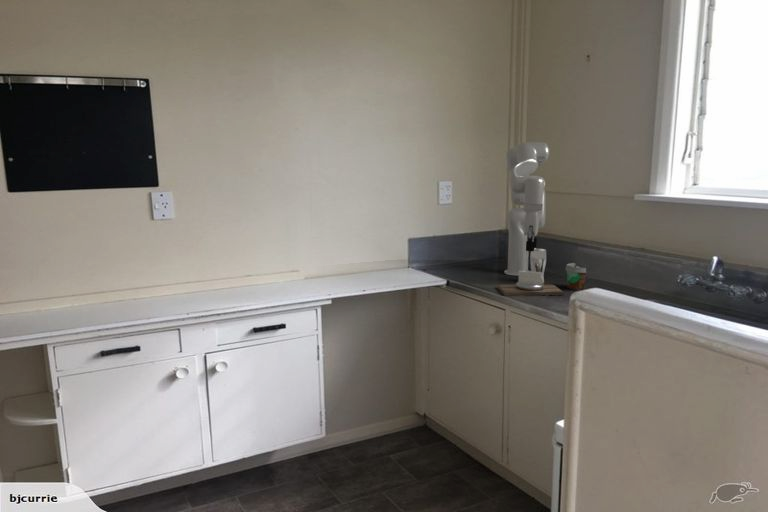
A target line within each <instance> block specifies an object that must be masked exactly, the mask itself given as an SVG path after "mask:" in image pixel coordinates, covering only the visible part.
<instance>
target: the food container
mask: <svg viewBox="0 0 768 512" xmlns="http://www.w3.org/2000/svg"><path fill="white" fill-rule="evenodd" d="M565 271H566V286H567V289H568V288H569V289H568V290H571V289H574V290H573V291H578V290H577V289H579V290H583V289H585V282H586V274H587V268H586V267H581V266H578V265H576V262H571V263H567V264H566V266H565Z"/></svg>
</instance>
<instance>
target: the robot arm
mask: <svg viewBox="0 0 768 512" xmlns="http://www.w3.org/2000/svg"><path fill="white" fill-rule="evenodd" d="M549 156H550V148H549V145H548V144H547V143H546V142H543V141H523V142H520V143H519V144H517V146H516V147H511V148H509V149H508V150H507V152H506V164H507V168H508V170H509V176H508V177H509V187H510V201H511V203H512V205H514V206H523V207H516V208H515V207H514V208H511V209H510V210H509V211H508V213H507V224H508V249H507V250H508V251H507V252H508V253H507V269H505V270H504V271H503V273H504V274H505V275H508V276H516V277H519V271H530V270H529V252H531V251H534V249H535V248H537V245H538V244H537V242H538V238H537V235H538V233H539V229H542V228H544V226H545V225H546V216H547V215H546V211H547V210H546V206H547V205H546V201H547V200H546V198H547V197H546V190H545V188H546V180H545V179H544V177H542V176H540V175H531V174H533V173H535V172H536V170H537V169H538V166H542V165H544V164H545V163H546V162H547V161H548V159H549Z"/></svg>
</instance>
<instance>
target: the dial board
mask: <svg viewBox="0 0 768 512" xmlns="http://www.w3.org/2000/svg"><path fill="white" fill-rule="evenodd" d="M543 284H544V286H543V289H542V290H523V289H519V288H517V287H516V284H508V283H507V284H503V283H502V284H497V287H496V288H497V289H498V290H499V291H500V292H501V294H503V296H505V297H509V296H510V297H513V296H514V297H515V296H516V297H517V296H518V295H565V294H564V292H565V291H563V290H561V289H560V288H559V287H557V286H556V285H555V284H548V283H547V284H545V283H543ZM518 297H519V296H518Z"/></svg>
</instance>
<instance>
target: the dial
mask: <svg viewBox="0 0 768 512" xmlns="http://www.w3.org/2000/svg"><path fill="white" fill-rule="evenodd" d="M544 284H545V283H542V272H533V271H531V270H529V271H519V276H518V280H517V282H516V287H517V288H519V289H523V290H542V289H543V286H544Z"/></svg>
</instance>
